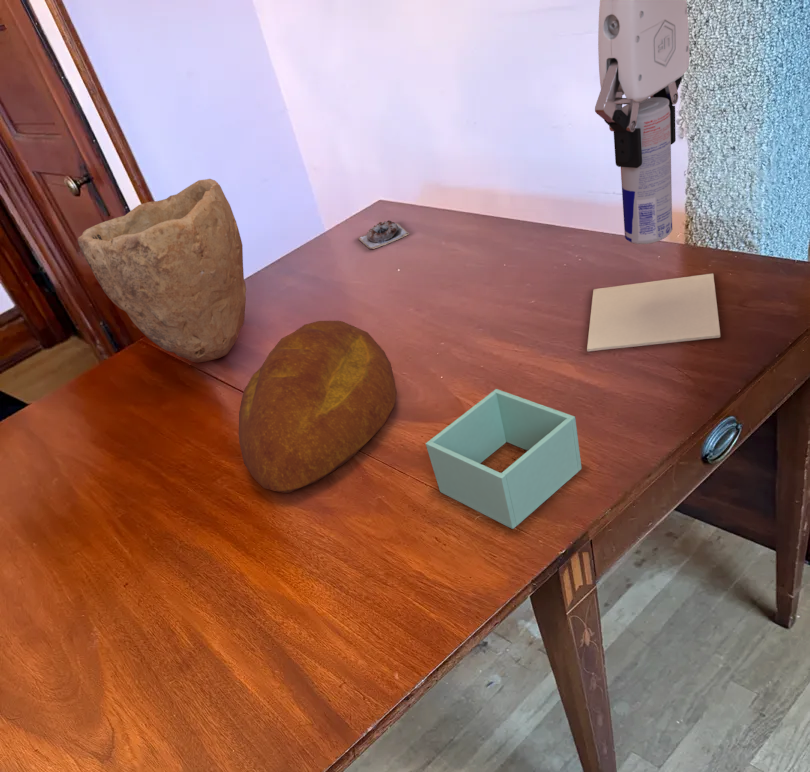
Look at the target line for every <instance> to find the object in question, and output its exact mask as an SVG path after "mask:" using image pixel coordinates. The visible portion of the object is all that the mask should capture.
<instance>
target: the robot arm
mask: <svg viewBox="0 0 810 772" xmlns="http://www.w3.org/2000/svg"><path fill="white" fill-rule="evenodd" d="M688 14H689V13H688V2H687V0H599V7H598V29H597V30H598V32H597V33H598V34H597V35H598V37H597V38H598V39H597V41H598V44H597V47H598V48H597V49H598V52H597V53H598V72H599V76H598V77H599V85H600V91H599V94H598V97H597V100H596V104H595V106H594V112H595V114H596V115H598V116H599V117H600V118H601V119H603V120H604V122H605V123H606V124H607V126H609V131H610V132H613V144H614V145H613V146H614V159H615V160H614V161H615V166H616V167H618V168H621V167H629V168H638V167H639V166H641V165H642V149H641V129H640V128H636V126H637V119H638V111H639V104H640V102H641V101H644V100H646V99H647V98H653V97H663V98H667V99H668V100H669V105H668V106H669V108H670V130H671V146H672V145H673V144H675V143H676V139H677V137H676V135H677V134H676V133H677V131H676V105H677V103H678V101H679V92H678V90H679V88H680V85H681V83H682V79H683V76H684V74H685V73H686V72H687V71H688V69H689V66H690V34H689V32H690V31H689V15H688ZM623 96H625V97H623ZM627 104H629V107H628V115H626V114H625V113H624V112H623V111H622V107H623V105H627Z"/></svg>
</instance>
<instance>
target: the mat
mask: <svg viewBox="0 0 810 772" xmlns="http://www.w3.org/2000/svg"><path fill="white" fill-rule="evenodd" d="M719 320H720V318H719V310H718V303H717V294H716V285H715V276H714V273H713V272H712V273H706V274H705V273H704V274H697V275H691V276H684V277H683V276H682V277H675V278H667V279H660V280H653V281H646V282H637V283H631V284H624V285H616V286H608V287H607V286H606V287H601V288H593V290H592V299H591V307H590V317H589V326H588V336H587V346H586V352H588V353H589V352H595V351H597V352H598V351H605V350H606V351H607V350H614V349H615V350H616V349H625V348H633V347H634V348H635V347H643V346H652V345H653V346H654V345H662V344H664V345H665V344H673V343H681V342H683V343H684V342H692V341H700V340H711V339H720V338H721V329H720V328H721V327H720V321H719Z"/></svg>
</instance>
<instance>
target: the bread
mask: <svg viewBox="0 0 810 772" xmlns="http://www.w3.org/2000/svg"><path fill="white" fill-rule="evenodd" d="M395 381H396V380H395V376H394V373H393V368H392V364H391V361H390V359H389V358H388V356H387V353H386V352H385V351H384V350H383V348H382V347H381V346H380V345H379V344H378V342H377V341H376V340H375V339H374V338H373V336H372V335H371V334H370V333H369V332H368V331H365V330H363V329H361V328H359V327H356V326H354V325H352V324H350V323H348V322H345V321H342V320H316V321H314V322H313V321H312V322H310V323H305V324H303V325H302V326H300V327H299V328H297V329H295V330H294V331H293V332H292V333H289V334H287V335H286V336H284V337H282V338H280V340H279V341H278V342H277V343H276V344H275V346H274V347H273V348H272V349H271V351H270V352H269V353H268V355H267V357H266V358H265V360H264V362H263V363H262V365H261V366H260V367H259V368H258V369H257V370H256V371H255V372H254V373H253V374H252V376H251V377H250V379H249V381H248V382H247V384H246V386H245V388H244V389H243V392H242V397H241V402H240V406H239V410H238V443H239V447H240V452H241V456H242V460H243V464H244V465H245V467H246V470H248V472H249V473H250V475H251V477H252V478H253V479H254V480H255V481H256V482H257V483H258V484H259V485H260V486H261V487H262V488H263V489H266V490H270V491H273V492H278V493H283V494H291V493H292V492H295V491H297V490H299V489H301V488H303V487H306V486H309V485H312V484H314V483H316V482H318V481H320V480H321V479H323V478H324V477H327V476H328V475H330V474H332V473H333V472H335V471H336V470H337V469H339V468H340V467H342V466H343V465H344V464H346V463H347V462H349V461H350V460H351V459H352V458H353V457H354V456H355V455H356V454H357V453H358V452H359V451H360V450H361V449H362V448H363V447H364V446H365V445H366V444H367V443H368V442H369V441H370V440H371V439H372V438H373V437H375V435H377V433H378V432H379V431H380V430H381V429H382V428H383V427H384V426H385V424H386V423H387V422H388V421H387V420H388V419H389V417H390V415H391V413H392V411H393V409H394V407H395V405H396V404H395V403H396V397H397V393H398V392H397V387H396V382H395Z"/></svg>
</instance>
